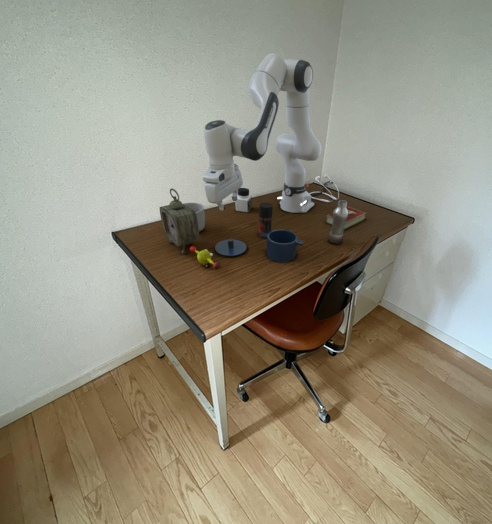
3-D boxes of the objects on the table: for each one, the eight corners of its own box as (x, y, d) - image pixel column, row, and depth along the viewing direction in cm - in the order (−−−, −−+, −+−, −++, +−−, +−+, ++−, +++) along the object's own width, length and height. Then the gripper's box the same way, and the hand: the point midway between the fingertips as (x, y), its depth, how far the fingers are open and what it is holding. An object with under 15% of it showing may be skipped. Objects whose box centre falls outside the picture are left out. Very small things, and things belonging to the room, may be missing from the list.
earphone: (331, 199, 161) (316, 174, 162) (315, 213, 174) (301, 190, 175) (344, 195, 169) (329, 171, 170) (327, 208, 182) (314, 186, 183)
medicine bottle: (247, 212, 146) (247, 191, 140) (235, 210, 147) (234, 189, 141) (251, 207, 152) (251, 187, 146) (239, 206, 153) (239, 185, 146)
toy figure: (226, 273, 100) (225, 258, 97) (213, 279, 97) (212, 264, 93) (198, 253, 110) (196, 239, 106) (186, 258, 106) (184, 244, 102)
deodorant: (273, 237, 126) (274, 207, 118) (261, 238, 124) (261, 208, 116) (269, 231, 130) (270, 202, 122) (257, 232, 128) (257, 203, 120)
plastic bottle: (325, 239, 128) (332, 199, 116) (337, 237, 130) (345, 198, 119) (331, 246, 123) (339, 205, 112) (344, 244, 125) (353, 204, 114)
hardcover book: (325, 222, 143) (326, 214, 141) (346, 212, 156) (348, 205, 154) (343, 230, 137) (345, 223, 135) (364, 219, 150) (366, 212, 147)
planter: (193, 221, 134) (190, 200, 127) (211, 228, 129) (209, 207, 123) (173, 230, 125) (169, 208, 118) (192, 238, 120) (188, 215, 114)
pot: (266, 242, 121) (267, 226, 116) (304, 251, 117) (306, 234, 113) (256, 256, 111) (256, 238, 106) (297, 266, 107) (299, 248, 103)
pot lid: (224, 239, 121) (223, 230, 119) (251, 245, 118) (251, 236, 116) (209, 253, 111) (208, 244, 108) (238, 260, 108) (238, 250, 105)
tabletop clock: (166, 242, 115) (154, 185, 101) (185, 236, 121) (177, 181, 107) (182, 257, 107) (171, 197, 93) (202, 249, 112) (195, 192, 98)
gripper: (230, 161, 108) (235, 194, 116) (199, 178, 93) (207, 214, 101) (244, 162, 106) (248, 196, 114) (214, 180, 91) (221, 216, 99)
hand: (228, 204), depth 108 cm, fingers open, 8 cm apart
